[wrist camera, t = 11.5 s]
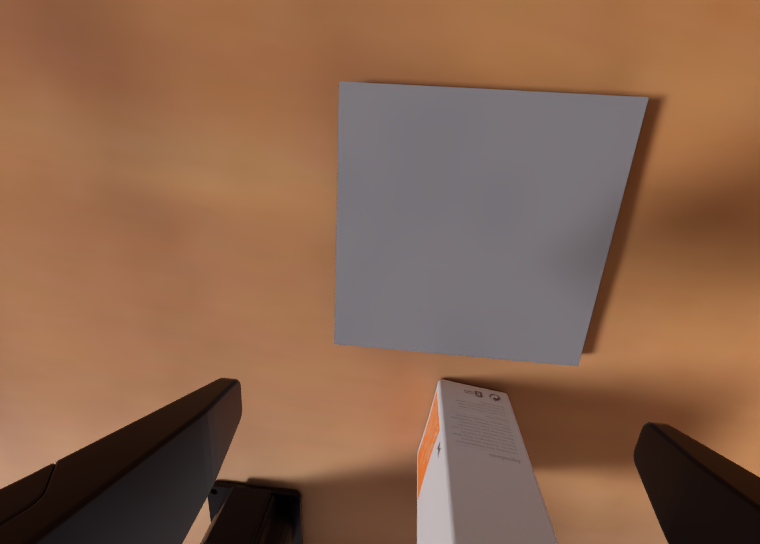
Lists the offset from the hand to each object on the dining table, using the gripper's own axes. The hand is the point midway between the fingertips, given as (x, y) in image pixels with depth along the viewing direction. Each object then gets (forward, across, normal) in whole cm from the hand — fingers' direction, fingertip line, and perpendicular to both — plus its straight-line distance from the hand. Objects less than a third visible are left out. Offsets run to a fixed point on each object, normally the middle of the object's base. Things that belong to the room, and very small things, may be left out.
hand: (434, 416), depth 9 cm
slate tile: (+12, -2, -2) cm, 13 cm away
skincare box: (+13, -3, +10) cm, 17 cm away
